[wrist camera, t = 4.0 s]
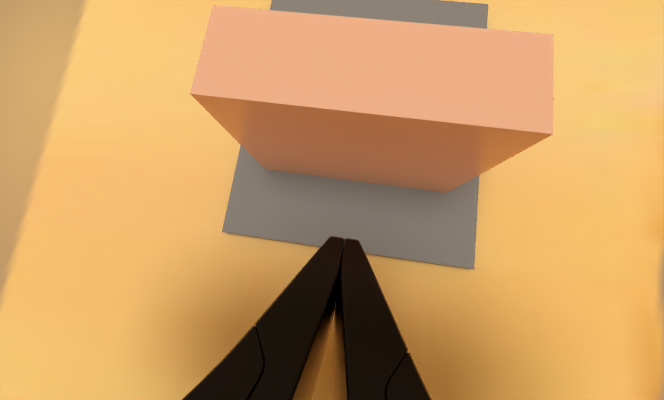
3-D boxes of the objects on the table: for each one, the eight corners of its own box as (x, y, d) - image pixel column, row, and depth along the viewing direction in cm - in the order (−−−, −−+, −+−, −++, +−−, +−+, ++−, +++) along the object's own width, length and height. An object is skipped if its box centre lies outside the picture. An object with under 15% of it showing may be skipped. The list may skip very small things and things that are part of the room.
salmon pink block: (446, 193, 17) (552, 134, 8) (265, 169, 18) (189, 93, 9) (450, 137, 18) (553, 29, 9) (275, 117, 19) (214, 0, 10)
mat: (469, 268, 17) (474, 269, 16) (226, 232, 18) (221, 231, 18) (483, 11, 20) (488, 4, 20) (276, -6, 21) (274, -13, 21)
